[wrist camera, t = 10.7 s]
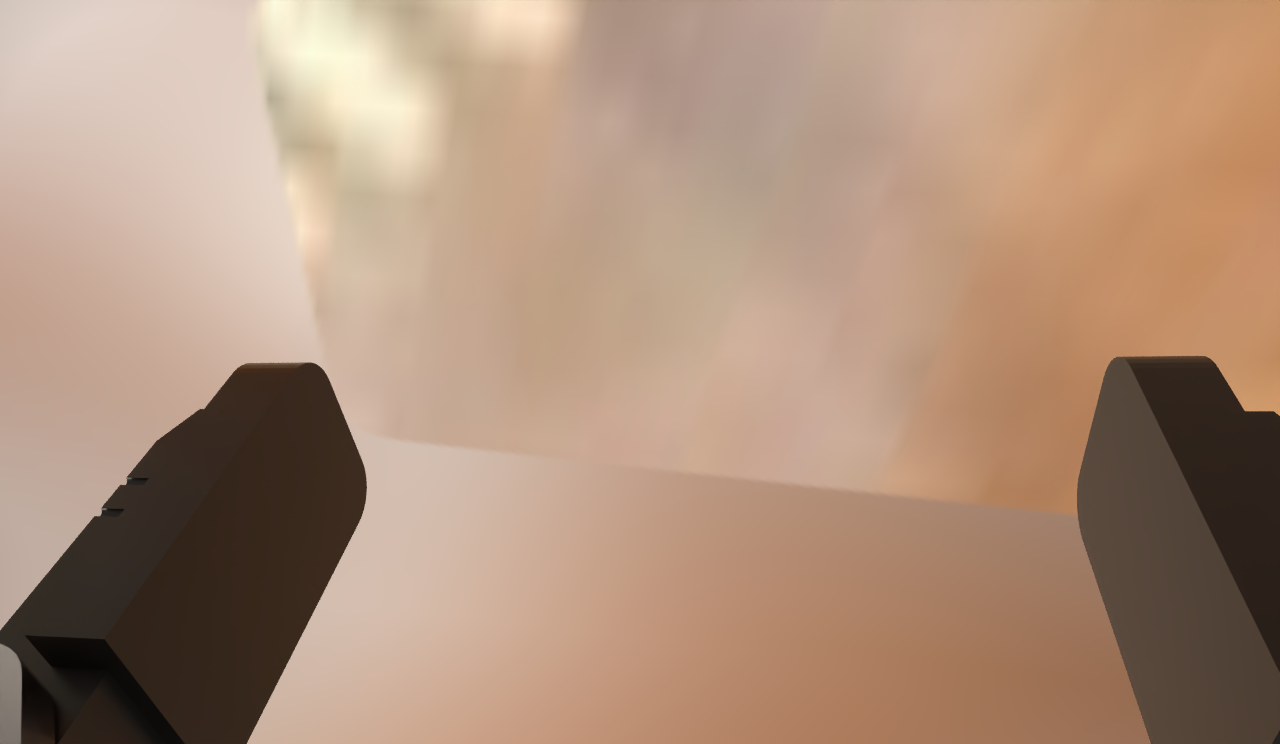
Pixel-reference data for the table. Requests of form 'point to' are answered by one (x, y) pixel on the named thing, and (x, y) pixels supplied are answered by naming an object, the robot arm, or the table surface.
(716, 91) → the table surface
